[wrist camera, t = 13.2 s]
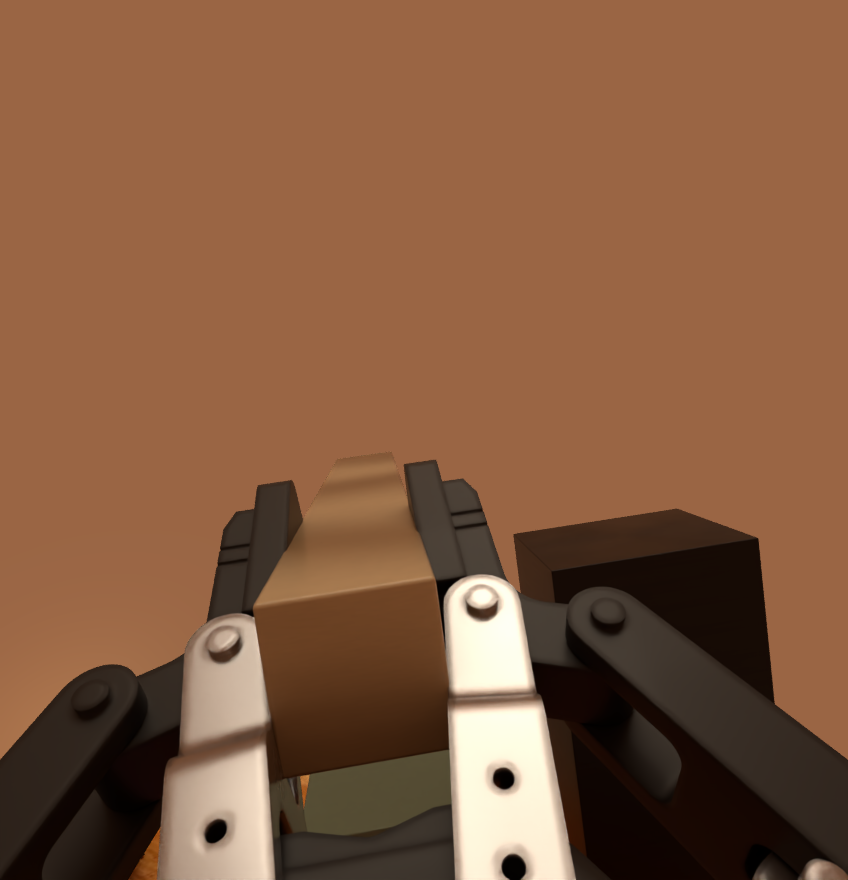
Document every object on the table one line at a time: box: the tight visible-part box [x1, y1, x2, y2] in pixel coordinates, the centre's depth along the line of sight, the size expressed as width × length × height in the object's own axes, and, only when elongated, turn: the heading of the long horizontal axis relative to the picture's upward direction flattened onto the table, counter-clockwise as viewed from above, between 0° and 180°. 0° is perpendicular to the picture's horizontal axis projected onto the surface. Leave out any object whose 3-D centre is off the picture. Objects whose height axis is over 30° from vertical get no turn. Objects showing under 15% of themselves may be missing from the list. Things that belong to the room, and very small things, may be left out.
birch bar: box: [253, 452, 450, 779], centre depth 19 cm, size 20×2×2 cm, turn 5°
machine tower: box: [514, 509, 775, 880], centre depth 35 cm, size 8×10×32 cm
